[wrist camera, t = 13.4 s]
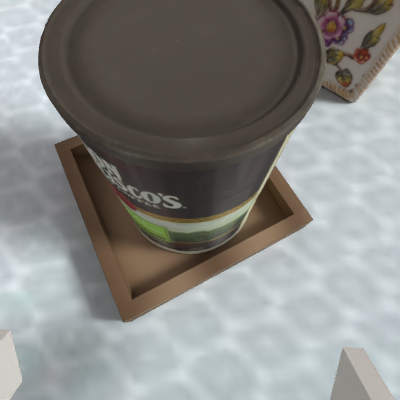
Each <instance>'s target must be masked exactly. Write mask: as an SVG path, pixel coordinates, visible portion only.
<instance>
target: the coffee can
mask: <svg viewBox="0 0 400 400" xmlns="http://www.w3.org/2000/svg"><path fill="white" fill-rule="evenodd" d="M38 66H39V73H40V79H41V82H42V85H43V87H44V89H45V92H46V94H47V96H48V98H49V99H50V101H51V102H52V104H53V105H54V107H55V108H56V110H57V111H58V112H59V114H60V115H61V117H62V118H63V119H64V120H65V121H66V123H67V124H68V125H69V126H70V127H71V129H72V130H73V131H75V132H76V133H77V135H78V136H79V138H80V139H81V141H82V142H83V144H84V145H85V147H86V148H87V150H88V152H89V153H90V155H91V156H92V157H93V159H94V161H95V162H96V164H97V165H98V167H99V168H100V170H101V171H102V173H103V174H104V176H105V177H106V179H107V180H108V182H109V183H110V185H111V186H112V188H113V189H114V191H115V192H116V194H117V195H118V197H119V198H120V200H121V202H122V203H123V205H124V206H125V208H126V209H127V211H128V212H129V214H130V216H131V218H132V220H133V222H134V224H135V225H136V227H137V228H138V230H139V231H140V232H141V233H142V235H143V236H144V237H145V238H147V239H148V240H149V241H150V242H152V243H153V244H155V245H157V246H158V247H160V248H162V249H165V250H168V251H171V252H175V253H181V254H198V253H204V252H208V251H211V250H214V249H216V248H218V247H220V246H222V245H224V244H225V243H227V242H228V241H229V240H231V239H232V238H233V237H234V236H235V235H236V234H237V233H238V232H239V231H240V230H241V228H242V227H243V225H244V224H245V222H246V220H247V218H248V215H249V212H250V210H251V208H252V207H253V205H254V203H255V201H256V199H257V197H258V196H259V194H260V192H261V190H262V189H263V187H264V185H265V183H266V181H267V179H268V177H269V176H270V174H271V172H272V170H273V168H274V166H275V164H276V163H277V161H278V159H279V157H280V155H281V153H282V152H283V150H284V148H285V146H286V144H287V142H288V140H289V139H290V137H291V135H292V133H293V131H294V130H295V128H296V126H297V125H298V124H299V123H300V122H301V120H302V119H303V118H304V116H305V115H306V113H307V112H308V111H309V109H310V107H311V106H312V104H313V102H314V101H315V99H316V97H317V95H318V93H319V91H320V89H321V86H322V83H323V79H324V75H325V70H326V48H325V41H324V38H323V34H322V31H321V29H320V26H319V24H318V22H317V20H316V19H315V17H314V15H313V14H312V12H311V11H310V9H309V8H308V7H307V5H306V4H305V3H304V2H303V1H302V0H62V1H61V2H60V3H59V4H58V5H57V7H56V8H55V9H54V11H53V12H52V14H51V15H50V17H49V19H48V22H47V23H46V24H45V28H44V31H43V33H42V36H41V40H40V44H39V55H38Z"/></svg>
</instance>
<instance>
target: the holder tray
mask: <svg viewBox="0 0 400 400" xmlns="http://www.w3.org/2000/svg"><path fill="white" fill-rule="evenodd" d="M55 148H56V150H57V153H58V155H59V158H60V160H61V163H62V166H63V168H64V171H65V173H66V176H67V178H68V181H69V184H70V186H71V189H72V191H73V194H74V197H75V199H76V202H77V204H78V207H79V209H80V212H81V215H82V217H83V220H84V222H85V225H86V228H87V230H88V233H89V235H90V238H91V240H92V243H93V246H94V248H95V251H96V253H97V256H98V259H99V261H100V264H101V266H102V269H103V271H104V274H105V277H106V279H107V282H108V284H109V287H110V290H111V292H112V295H113V297H114V300H115V302H116V305H117V308H118V310H119V313H120V315H121V318H122V321H123V322H130V321H133V320H135V319H137V318H138V317H140V316H142V315H144V314H146V313H148V312H149V311H151V310H153V309H155V308H157V307H159V306H160V305H162V304H164V303H166V302H168V301H170V300H172V299H173V298H175V297H177V296H179V295H181V294H183V293H184V292H186V291H188V290H190V289H192V288H194V287H195V286H197V285H199V284H201V283H203V282H205V281H206V280H208V279H210V278H212V277H214V276H216V275H218V274H219V273H221V272H223V271H225V270H227V269H229V268H230V267H232V266H234V265H236V264H238V263H240V262H241V261H243V260H245V259H247V258H249V257H251V256H252V255H254V254H256V253H258V252H260V251H262V250H264V249H265V248H267V247H269V246H271V245H273V244H275V243H276V242H278V241H280V240H282V239H284V238H286V237H287V236H289V235H291V234H293V233H295V232H297V231H298V230H300V229H302V228H303V227H305V226H306V225H307V224H308V223H310V222H311V221H312V220H313V218H312V217H311V216H310V214H309V213H308V211H307V210H306V209H305V207H304V206H303V204H302V203H301V201H300V200H299V199H298V197H297V196H296V194H295V193H294V192H293V190H292V189H291V187H290V186H289V184H288V183H287V182H286V180H285V179H284V177H283V176H282V175H281V173H280V172H279V170H278V169H277V167H276V166H274V168H273V170H272V172H271V174H270V176H269V177H268V179H267V181H266V183H265V185H264V187H263V189H262V190H261V192H260V194H259V196H258V197H257V199H256V201H255V203H254V205H253V207H252V208H251V210H250V212H249V215H248V218H247V220H246V222H245V224H244V225H243V227H242V228H241V230H240V231H239V232H238V233H237V234H236V235H235V236H234V237H233V238H232V239H231V240H229V241H228V242H227V243H225V244H224V245H222V246H220V247H218V248H216V249H214V250H211V251H208V252H204V253H198V254H181V253H175V252H171V251H168V250H165V249H162V248H160V247H158V246H157V245H155V244H153V243H152V242H150V241H149V240H148V239H147V238H145V237H144V236H143V235H142V233H141V232H140V231H139V230H138V228H137V227H136V225H135V224H134V222H133V220H132V218H131V216H130V214H129V212H128V211H127V209H126V208H125V206H124V205H123V203H122V202H121V200H120V198H119V197H118V195H117V194H116V192H115V191H114V189H113V188H112V186H111V185H110V183H109V182H108V180H107V179H106V177H105V176H104V174H103V173H102V171H101V170H100V168H99V167H98V165H97V164H96V162H95V161H94V159H93V157H92V156H91V155H90V153H89V152H88V150H87V148H86V147H85V145H84V144H83V142H82V141H81V139H80V138H79V136H78V135H77V136H75V137H72V138H70V139H67V140H65V141H62V142H60V143H57V144H55Z"/></svg>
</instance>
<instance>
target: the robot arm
mask: <svg viewBox="0 0 400 400" xmlns="http://www.w3.org/2000/svg"><path fill="white" fill-rule="evenodd" d="M22 381H23V379H22V375H21V371H20V367H19V363H18V359H17V355H16V351H15V347H14V343H13V339H12V335H11V331H10V330H0V400H10V399H11V397H12V396H13V394H14V393H15V391H16V390H17V388H18V387H19V386H20V384H21V383H22ZM330 399H331V400H395V399H394V398H393V396H392V394H391V393H390V391H389V390H388V388H387V386H386V385H385V383H384V381H383V380H382V378H381V377H380V375H379V373H378V372H377V370H376V368H375V367H374V365H373V364H372V362H371V360H370V359H369V357H368V355H367V354H366V352H365V351H364V349H363V348H347V347H343V349H342V353H341V357H340V361H339V365H338V369H337V373H336V377H335V381H334V385H333V390H332V394H331V398H330Z"/></svg>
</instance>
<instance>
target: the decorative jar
mask: <svg viewBox="0 0 400 400" xmlns="http://www.w3.org/2000/svg"><path fill="white" fill-rule="evenodd" d="M302 1H303V2H304V3H305V4H306V5H307V7H308V8H309V9H310V11H311V12H312V14H313V15H314V17H315V19H316V20H317V22H318V24H319V26H320V29H321V31H322V34H323V38H324V41H325V48H326V70H325V75H324V79H323V83H322V86H324V87H325V88H327V89H329V90H331V91H332V92H334V93H336V94H337V95H339V96H341V97H342V98H344V99H346V100H348V101H349V102H356V100H358V99H359V97H360V96H361V95H362V93H363V92H364V91H365V90H366V89H367V88H368V87H369V85H370V84H371V83H372V81H373V80H374V79H375V77H376V76H377V75H378V74H379V72H380V71H381V70H382V68H383V67H384V66H385V64H386V63H387V62H388V61H389V59H390V58H391V57H392V55H393V54H394V53H395V52H396V50H397V49H398V48H399V47H400V0H302Z"/></svg>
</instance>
